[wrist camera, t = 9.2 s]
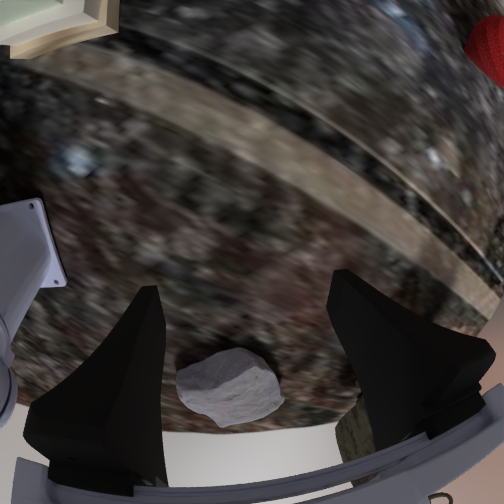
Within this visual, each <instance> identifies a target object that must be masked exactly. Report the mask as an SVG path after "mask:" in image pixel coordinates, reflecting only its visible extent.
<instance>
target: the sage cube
mask: <svg viewBox="0 0 504 504" xmlns="http://www.w3.org/2000/svg"><path fill="white" fill-rule="evenodd" d="M63 1H64V0H0V25H3V26H5V25H8V24H10V23H12V22H15V21H17V20H20V19H22V18H25V17H27V16H30V15H32V14H35V13H38V12H41V11H44V10H47V9H50V8H53V7H56V6H59V5H63Z"/></svg>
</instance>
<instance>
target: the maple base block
mask: <svg viewBox="0 0 504 504" xmlns="http://www.w3.org/2000/svg"><path fill="white" fill-rule="evenodd" d="M119 3H120V0H101V5H100V13H99V21H97V22H93V23H88V24H84V25H80V26H76V27H72V28H68V29H65V30H61V31H58V32H54V33H51V34H48V35H45V36H42V37H39V38H36V39H33V40H30V41H28V42H25V43H22V44H20V45H17V46H11V45H10V59H31V58H33V57H36V56H39V55H41V54H44V53H47V52H50V51H52V50H55V49H58V48H61V47H64V46H68V45H71V44H74V43H78V42H81V41H85V40H88V39H92V38H96V37H100V36H105V35H109V34H114V33H118V23H119Z"/></svg>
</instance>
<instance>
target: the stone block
mask: <svg viewBox="0 0 504 504" xmlns="http://www.w3.org/2000/svg"><path fill="white" fill-rule="evenodd" d="M176 378H177V379H176V387H177V393H178V395H179V399H180V400H181V401H182V402H183V403H184V404H185V405H186V407H188V408H190V409H191V410H194V411H195V412H197V413H199V414H206V415H208V416H209V417H210V418H211V419H213V420H214V421H215V422H216V424H217V425H218V426H219V427H226V426H228V425H231V424H240V423H244V422H251V421H253V420H257V419H259V418H262V417H265V416H266V415H268V414H270V413H271V412H273V411H274V410H276V409H278V407H279V405H281V404H282V403H283V401H284V395H283V393H282V391H281V389H280V385H279V383H278V380H277V377H276V375H275V373H274V372H273V371H272V370H271V369H270V368H269V366H268V364H267V363H266V362H265V360H264V359H263V358H262V357H260V356H258V355H256V354H254V353H253V352H250V351H249V350H247V349H244V348H241V347H237V348H233V349H230V350H226V351H221V352H218V353H216V354H214V355H212V356H210V357H208V358H206V359H205V360H203V361H201V362H198V363H195V364H191V365H190V366H188V367H187V368H184V369H181V370H179V371H178V372H177V375H176Z"/></svg>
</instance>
